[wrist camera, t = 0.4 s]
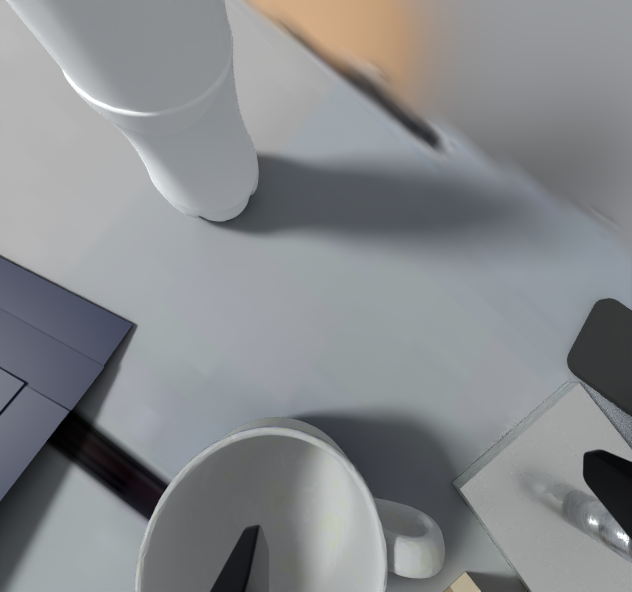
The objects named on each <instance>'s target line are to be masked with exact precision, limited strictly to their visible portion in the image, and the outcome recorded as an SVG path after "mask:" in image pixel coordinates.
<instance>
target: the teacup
mask: <svg viewBox="0 0 632 592" xmlns="http://www.w3.org/2000/svg"><path fill="white" fill-rule="evenodd" d="M257 524H258V525H260V526H261V527H262V529H263V532H264V535H265V538H266V541H267V544H268V548H269V592H385V591H386V585H387V572H388V571H389V572H392V573H395V574H397V575H400V576H404V577H408V578H420V579H423V578H429V577H432V576H434V575H436V574H437V573H438V572H439V571H440V570H441V569H442V567H443V565H444V560H445V545H444V539H443V535H442V532H441V530H440V528H439V526H438V525H437V523H436V522H435V521H434V520H433V519H432V518H431V517H429V516H428V515H427V514H425V513H423V512H421V511H419V510H417V509H415V508H413V507H410V506H407V505H404V504H401V503H397V502H393V501H389V500H384V499H380V498H375V497H373V495H372V493H371V491H370V489H369V487H368V485H367V483H366V481H365V480H364V478H363V476H362V475H361V474H360V472H359V471H358V470H357V468H356V467H355V466H354V465H353V463H352V462H351V461H350V460H349V459H348V457H347V456H346V455H345V453H344V452H343V451H342V450H341V449H340V447H339V446H338V445H337V444H336V443H335V442H334V441H333V440H332V439H331V438H330V437H329V436H328V435H326V434H325V433H324V432H322V431H321V430H319V429H318V428H316V427H314V426H312V425H310V424H308V423H305V422H303V421H300V420H296V419H291V418H283V417H274V418H265V419H260V420H256V421H253V422H250V423H247V424H245V425H243V426H241V427H239V428H237V429H235V430H233V431H232V432H230V433H229V434H227V435H225V436H224V437H223V438H221V439H220V440H219V441H217V442H215V443H213V444H212V445H210V446H208V447H207V448H205V449H204V450H203V451H201V452H200V453H199V454H198V455H196V456H195V457H194V458H193V459H191V460H190V461H189V462H188V463H187V464H186V465H185V466H184V467H183V468H182V469H181V470H180V471H179V473H178V474H177V475H176V476H175V478H174V479H173V480H172V482H171V483H170V484H169V486H168V487H167V489H166V490H165V492H164V494H163V495H162V497H161V498H160V500H159V502H158V504H157V506H156V508H155V511H154V513H153V515H152V517H151V519H150V521H149V523H148V526H147V529H146V532H145V535H144V538H143V541H142V544H141V548H140V551H139V555H138V559H137V571H136V580H135V592H210V590H211V589H212V587H213V585H214V583H215V581H216V579H217V578H218V576H219V574H220V572H221V570H222V569H223V567H224V565H225V563H226V561H227V559H228V558H229V556H230V554H231V552H232V550H233V549H234V547H235V545H236V543H237V541H238V539H239V538H240V536H241V534H242V532H243V530H244V529H245V528H246V527H248V526H253V525H257Z"/></svg>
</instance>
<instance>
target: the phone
mask: <svg viewBox="0 0 632 592" xmlns="http://www.w3.org/2000/svg"><path fill="white" fill-rule="evenodd" d="M567 363H568V367H569V369H570V370H571V372H572V373H573V374H574V375H575V376H577V377H578V378H579V379H581V380H582V381H583V382H585V383H586V384H588V385H589V386H590V387H592V388H593V389H594V390H596V391H597V392H599V393H600V394H601V395H602V396H603V397H605V398H606V399H607V400H609V401H610V402H612V403H614V404H615V405H616V406H617V407H618V408H620V409H621V410H622V411H624V412H625V413H627V414H629V415H630V416H632V311H631V310H630V309H629V308H627V307H626V306H624V305H623V304H622V303H620V302H619V301H617V300H615V299H611V298H608V299H602V300H599V301H598V302H596V304H595V305H594V307H593V308H592V310H591V312H590V314H589V316H588V318H587V320H586V322H585V323H584V325H583V327H582V329H581V331H580V333H579V335H578V337H577V339H576V341H575V342H574V344H573V346H572V348H571V350H570V352H569V354H568V358H567Z"/></svg>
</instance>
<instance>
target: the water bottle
mask: <svg viewBox="0 0 632 592" xmlns="http://www.w3.org/2000/svg"><path fill="white" fill-rule="evenodd" d="M6 1H7V2H8V3H9V4H10V6H11V7H12V8H13V9H14V11H15V12H16V13H17V14H18V15H19V17H20V18H21V19H22V20H23V22H24V23H25V24H26V25H27V26H28V28H29V29H30V30H31V31H32V33H33V34H34V35H35V36H36V37H37V39H38V40H39V41H40V42H41V44H42V45H43V46H44V47H45V48H46V50H47V51H48V52H49V53H50V55H51V56H52V57H53V58H54V59H55V61H56V62H57V63H58V64H59V66H60V67H61V68H62V70H63V73H64V75H65V77H66V79H67V80H68V82H69V83H70V84H71V86H72V87H73V88H74V89H75V90H76V92H77V93H78V94H79V95H80V96H81V97H82V98H83V99H84V100H85V101H86V102H87V103H88V104H89V105H90V106H91V107H92V108H94V109H95V110H96V111H97V112H99V113H100V114H101V115H102V116H104V117H105V118H106V119H107V120H109V121H110V122H111V123H113V124H114V125H115V126H116V127H117V128H118V129H119V130H120V131H121V132H122V133H123V134H124V135H125V136H126V137H127V138H128V139H129V141H130V142H131V143H132V145H133V146H134V148H135V149H136V150H137V152H138V154H139V155H140V157H141V159H142V160H143V162H144V164H145V166H146V168H147V170H148V172H149V175H150V177H151V180H152V182H153V184H154V185H155V186H156V188H157V189H158V190H159V191H160V192H161V194H162V195H163V196H164V197H165V198H166V199H167V200H168V201H169V202H170V203H171V204H172V205H173V206H174V207H175V208H177V209H178V210H179V211H181V212H182V213H184V214H186V215H187V216H191V217H195V218H198V217H199V216H202V217H204V218H206V219H208V220H211V221H226V220H229V219H232V218H234V217H236V216H238V215H239V214H240V213H241V212H242V211H243V210H244V208H245V207H246V206H247V203H248V200H249V197H250V195H253V194H254V192H255V191H256V189H257V185H258V178H259V170H258V160H257V155H256V150H255V147H254V144H253V141H252V139H251V137H250V135H249V133H248V132H247V129H246V127H245V125H244V122H243V119H242V116H241V113H240V109H239V105H238V99H237V94H236V88H235V79H234V70H233V37H232V31H231V28H230V24H229V21H228V18H227V13H226V8H225V2H224V0H6Z"/></svg>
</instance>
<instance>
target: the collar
mask: <svg viewBox="0 0 632 592" xmlns="http://www.w3.org/2000/svg"><path fill="white" fill-rule="evenodd" d="M445 592H481V591H480V590H479V588H478V587H477V586H476V584H475V583H474V582H473V581H472V579H471V578H470V577H469V576H468V574H467V573H466V572H464V573H463V574H462V575H461V576H460V577H459V578H458V579H457V580H456V581H455V582H454V583H453V584H452V585H451V586H450V587H449V588H448V589H447V590H446V591H445Z"/></svg>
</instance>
